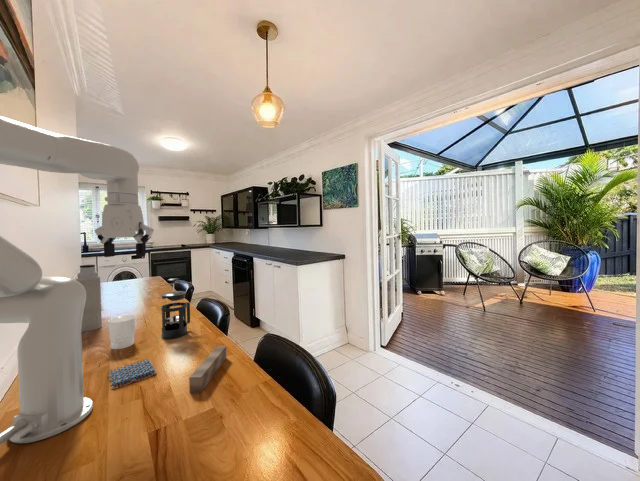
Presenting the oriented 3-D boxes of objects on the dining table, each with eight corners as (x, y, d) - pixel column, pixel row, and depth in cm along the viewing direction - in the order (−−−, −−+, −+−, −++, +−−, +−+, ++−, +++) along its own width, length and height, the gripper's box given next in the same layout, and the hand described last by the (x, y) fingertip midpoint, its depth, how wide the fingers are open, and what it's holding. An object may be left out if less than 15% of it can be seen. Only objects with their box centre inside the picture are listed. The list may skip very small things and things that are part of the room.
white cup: (121, 351, 88) (120, 323, 88) (103, 349, 90) (102, 321, 90) (141, 341, 96) (140, 315, 96) (124, 340, 98) (123, 314, 97)
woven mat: (149, 363, 81) (149, 357, 81) (157, 376, 73) (157, 369, 73) (107, 376, 74) (107, 369, 73) (111, 392, 66) (111, 385, 66)
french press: (168, 341, 96) (167, 281, 95) (154, 337, 100) (152, 279, 100) (196, 331, 106) (195, 276, 106) (182, 327, 111) (180, 275, 110)
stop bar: (201, 392, 65) (201, 377, 65) (189, 392, 65) (189, 377, 65) (226, 358, 83) (226, 345, 83) (217, 358, 83) (216, 346, 83)
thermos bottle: (98, 323, 116) (96, 263, 115) (104, 327, 112) (102, 264, 111) (74, 329, 109) (72, 265, 109) (80, 333, 105) (78, 266, 104)
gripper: (83, 199, 73) (86, 257, 74) (142, 198, 73) (144, 257, 74) (105, 202, 81) (107, 255, 81) (159, 201, 81) (160, 255, 81)
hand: (125, 256), depth 78 cm, fingers open, 9 cm apart
